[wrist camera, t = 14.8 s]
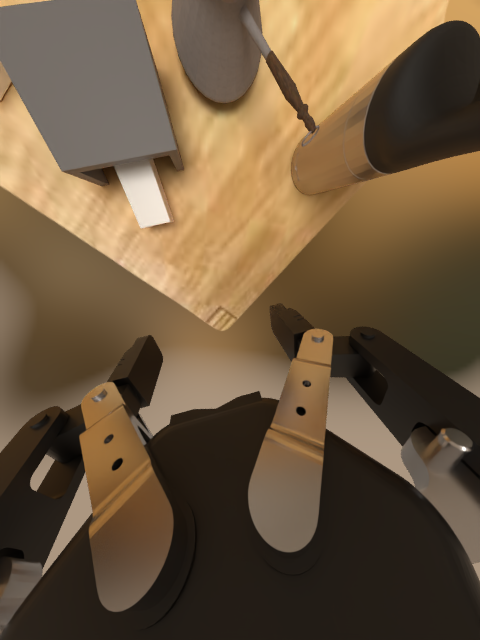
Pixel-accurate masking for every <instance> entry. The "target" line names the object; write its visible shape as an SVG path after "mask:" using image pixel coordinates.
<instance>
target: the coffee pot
mask: <svg viewBox="0 0 480 640" xmlns="http://www.w3.org/2000/svg"><path fill="white" fill-rule="evenodd" d="M172 26H173V36H174V40H175V44H176V48H177V52H178V56H179V58H180V60H181V63H182V65H183V67H184V70H185V72H186V74H187V76H188V77H189V79H190V80H191V82H192V83H193V85H194V86H195V87H196V88H197V89H198V90H199V91H200V92H201V93H202V94H203V95H204V96H205V97H207V98H209V99H211V100H213V101H214V102H219V103H229V102H233V101H236V100H237V99H239V98H240V97H241V96H243V95H244V94H245V93H246V91H247V90H248V89H249V87H250V86H251V84H252V83H253V80H254V78H255V76H256V73H257V71H258V67H259V62H260V58H261V53H262V55H263V56H264V58H265V60H266V63H267V65H268V67H269V68H270V70H271V72H272V74H273V76H274V78H275V80H276V82H277V84H278V85H279V87H280V89H281V91H282V93H283V95H284V97H285V99H286V100H287V101H288V102H289V103H290V104H291V105H292V106H293V108H294V109H295V110H296V111H297V112H298V113H297V118H298V119H300V120H303V121H304V122H305V127H306V128H307V129H308V131H310V132H309V133H308V134H307V135H306V137H305V138H304V139H303V141H302V143H301V146H302V147H303V146H305V145H307V144H308V143H309V142H310V141H311V140H312V139H313V138H314V137H315V135H316V134H317V132H318V131H319V128H320V127H319V125H318V126H315V122H314V120H313V118H312V117H311V116H310V115H309V114H308V105H307V104H303V102H302V100H301V97H300V95H299V92H298V90H297V87H296V84H295V83H294V81H293V80H292V79H291V77H290V76H289V74H288V73H287V71H286V70H285V68H284V67H283V65H282V64H281V63H280V61H279V60H278V58H277V57H276V55H275V54H274V52H273V51H271V49H270V48H269V46H268V44H267V42H266V40H265V39H264V37H263V35H262V25H261V15H260V5H259V0H172ZM316 128H318V129H317V131H316V133H315V134H314V135H313V136H312V138H311V139H310V140H309V141H308V142H306V143H305V144H303V143H304V141H305V139H306V138H307V137H308V136H309V135H310V134H311V133H312V134H313V133H314V132H315V130H316Z"/></svg>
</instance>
